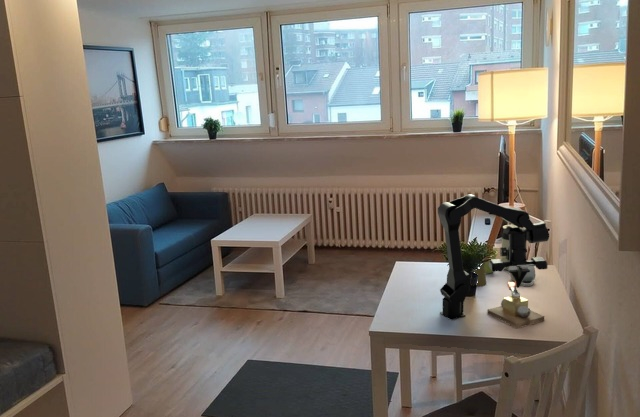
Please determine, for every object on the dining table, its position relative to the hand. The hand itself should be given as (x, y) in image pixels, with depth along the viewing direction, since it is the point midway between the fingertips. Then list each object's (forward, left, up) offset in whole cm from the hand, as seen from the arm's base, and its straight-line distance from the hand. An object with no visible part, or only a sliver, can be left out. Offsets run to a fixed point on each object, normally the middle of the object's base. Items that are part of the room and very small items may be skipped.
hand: (517, 287), depth 204 cm
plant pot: (+17, +36, -8) cm, 40 cm away
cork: (+5, +26, -8) cm, 28 cm away
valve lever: (-4, -2, 0) cm, 4 cm away
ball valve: (-6, -6, -6) cm, 11 cm away
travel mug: (+29, +34, -8) cm, 45 cm away
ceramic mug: (+21, +18, -8) cm, 29 cm away
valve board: (-6, -6, -8) cm, 12 cm away
